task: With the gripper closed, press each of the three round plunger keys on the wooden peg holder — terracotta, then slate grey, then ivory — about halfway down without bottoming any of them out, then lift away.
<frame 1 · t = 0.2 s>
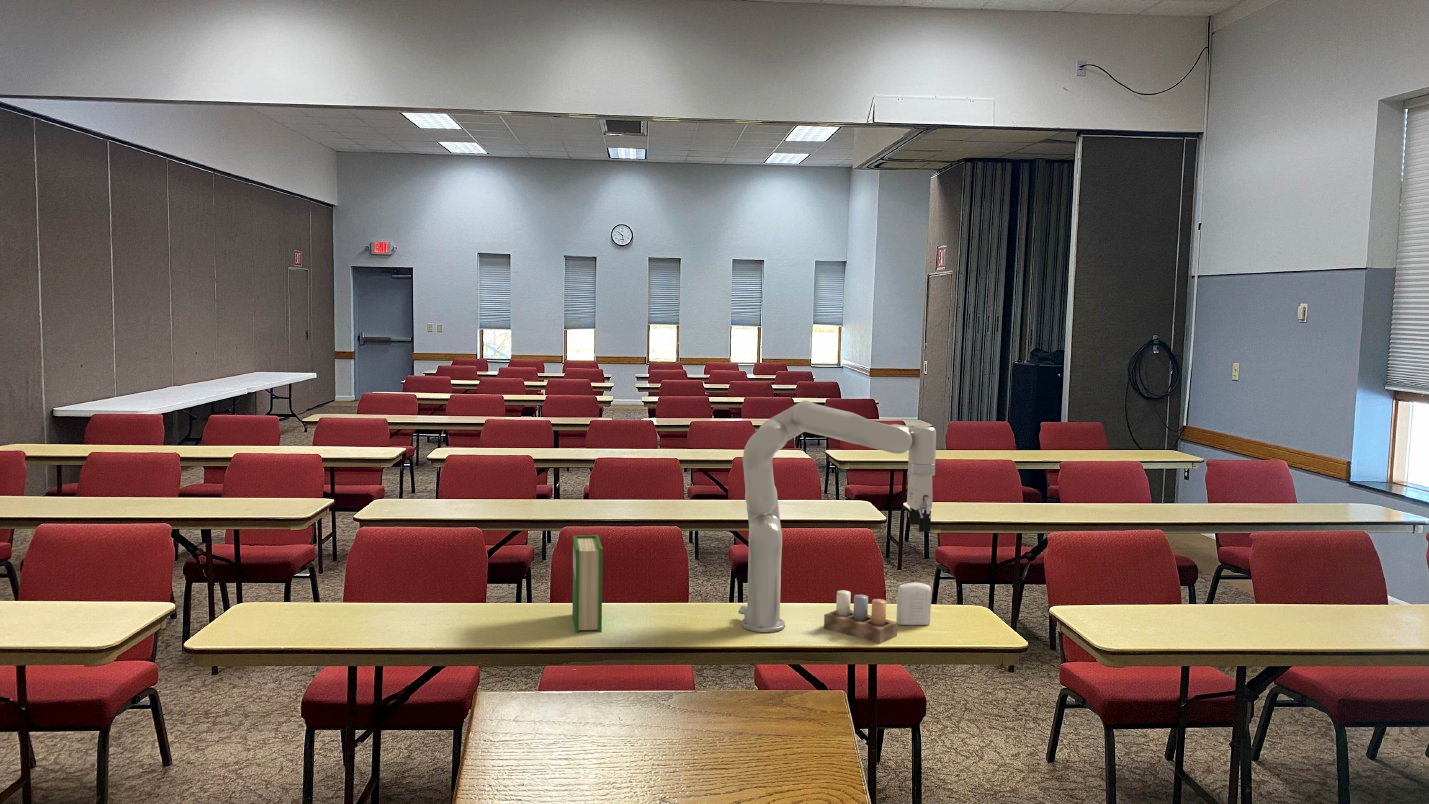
hand: (919, 528, 262), 30 cm above the table, tool pointing down, fingers open, 9 cm apart
hardback book: (586, 623, 266), on the table
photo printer: (913, 624, 271), on the table
ivory key: (843, 604, 266), point 7 cm above the table, slide at 0.0 cm
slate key: (860, 608, 262), point 7 cm above the table, slide at 0.0 cm
wooden peg holder: (860, 631, 263), on the table
terracotta key: (878, 613, 258), point 7 cm above the table, slide at 0.0 cm
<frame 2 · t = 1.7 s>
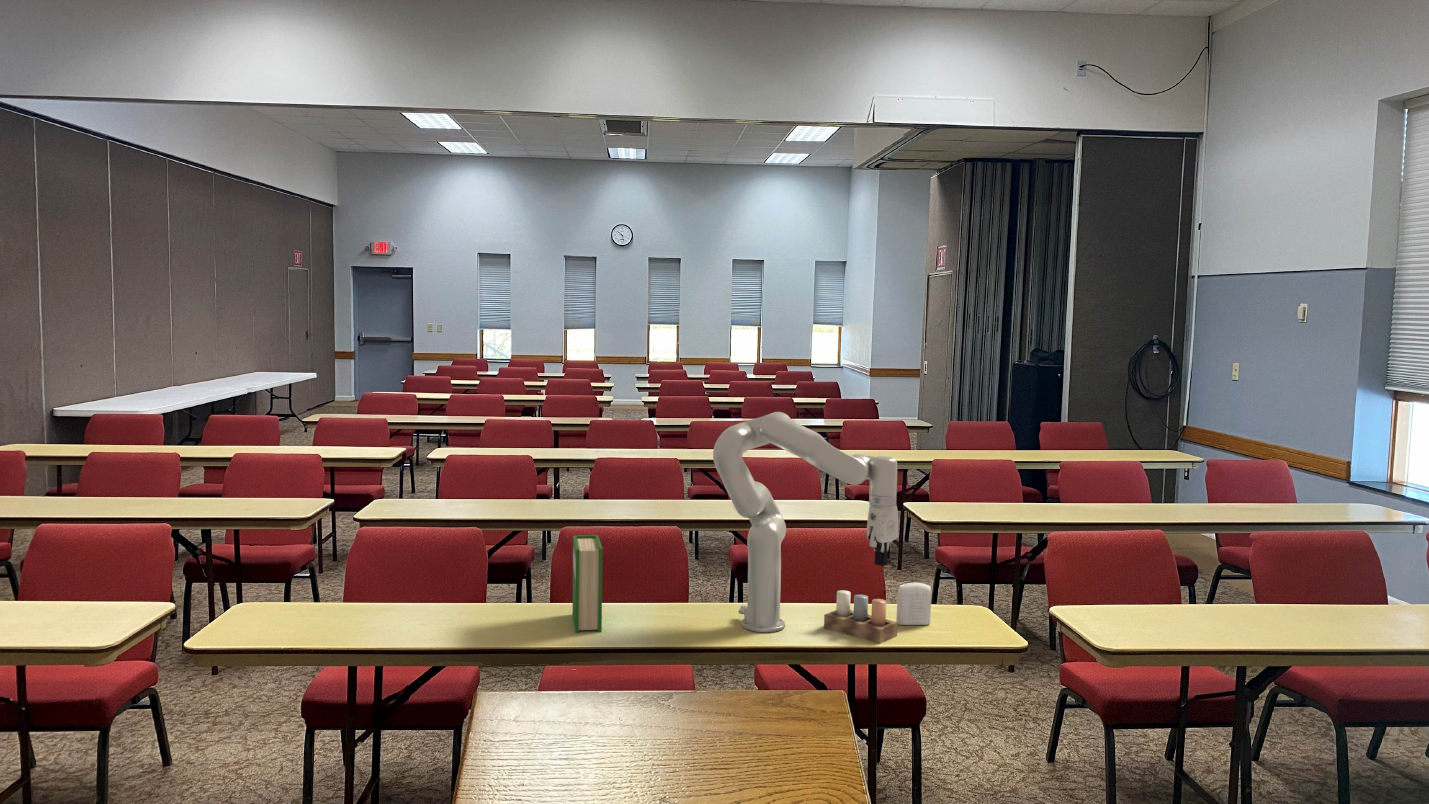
hand: (880, 564, 257), 21 cm above the table, tool pointing down, fingers closed
nothing on the table moved.
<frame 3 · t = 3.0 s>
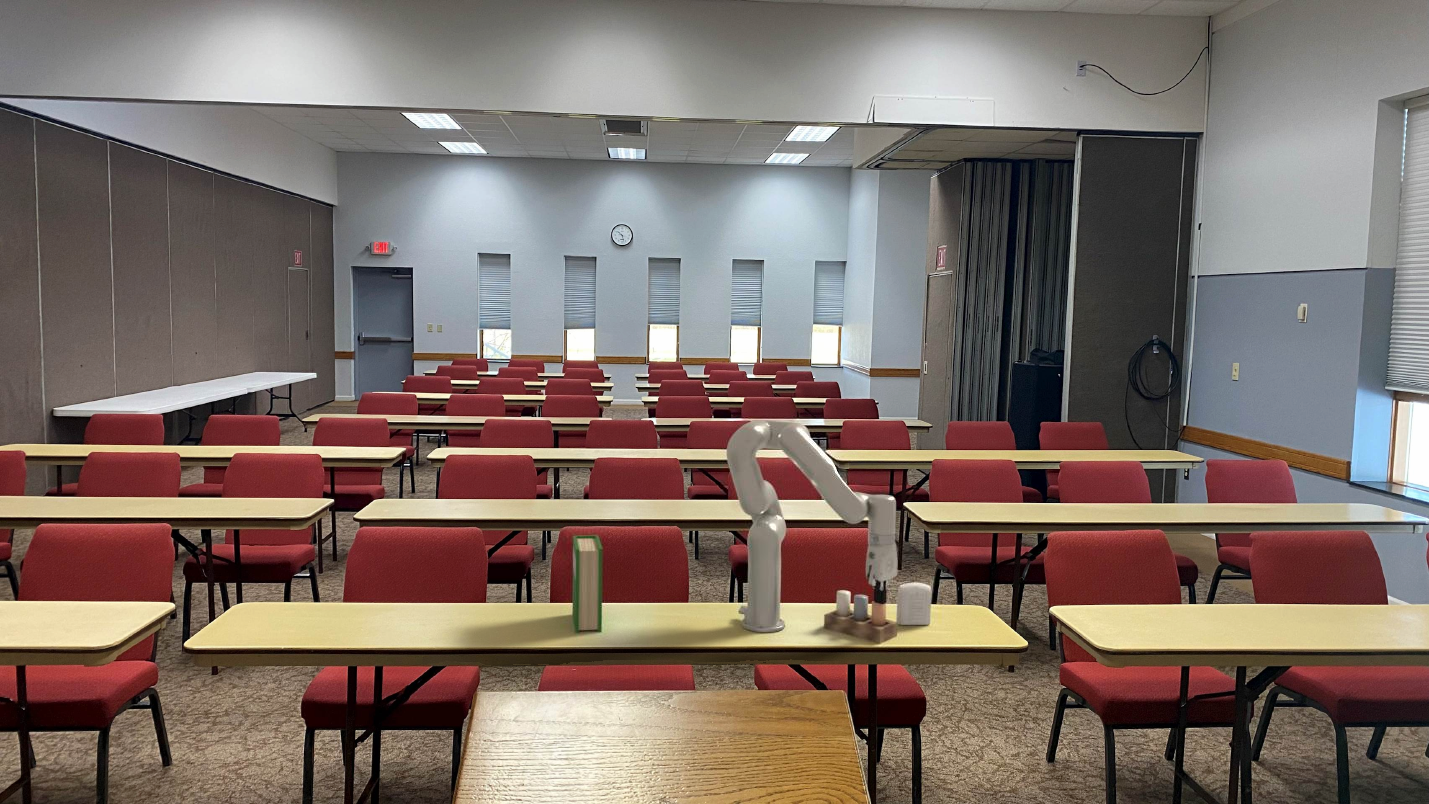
hand: (880, 602, 258), 10 cm above the table, tool pointing down, fingers closed
terracotta key: (878, 614, 258), point 6 cm above the table, slide at 0.5 cm, touching gripper
everything else where it was.
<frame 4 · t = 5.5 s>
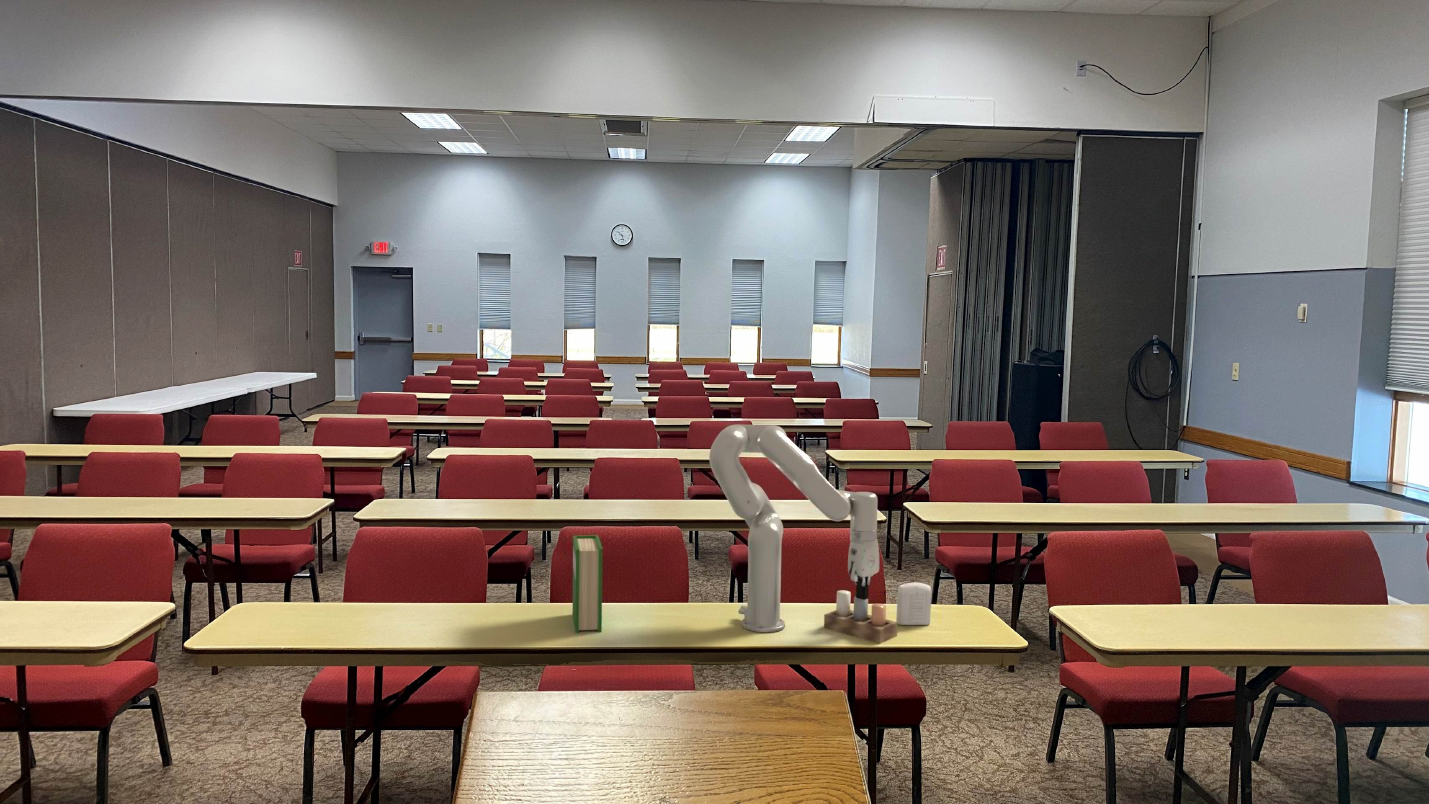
hand: (862, 598, 262), 10 cm above the table, tool pointing down, fingers closed
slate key: (860, 610, 262), point 6 cm above the table, slide at 0.5 cm, touching gripper
terracotta key: (878, 617, 258), point 6 cm above the table, slide at 1.4 cm
everything else where it was.
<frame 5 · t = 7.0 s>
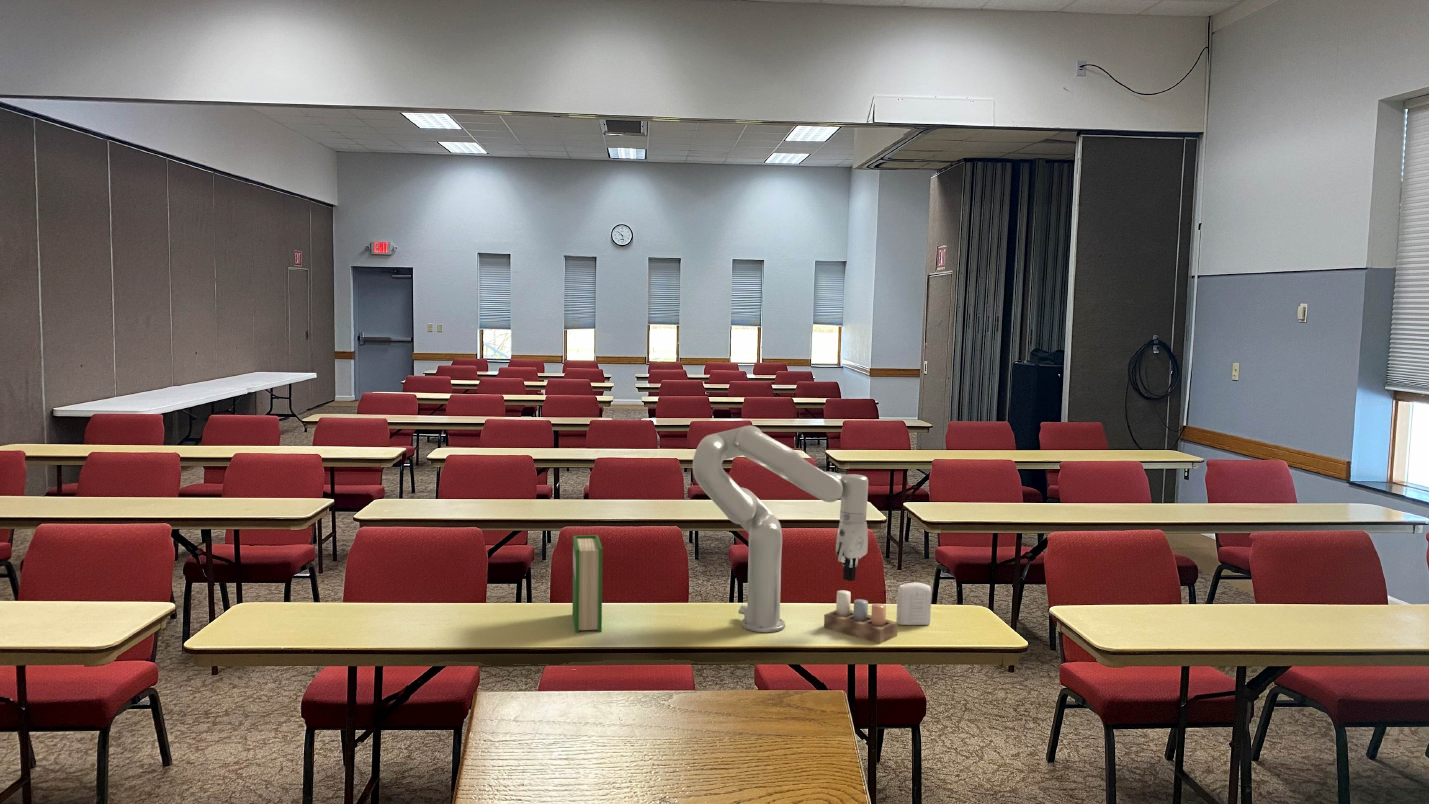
hand: (849, 579, 264), 15 cm above the table, tool pointing down, fingers closed
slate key: (860, 613, 262), point 6 cm above the table, slide at 1.4 cm
everything else where it was.
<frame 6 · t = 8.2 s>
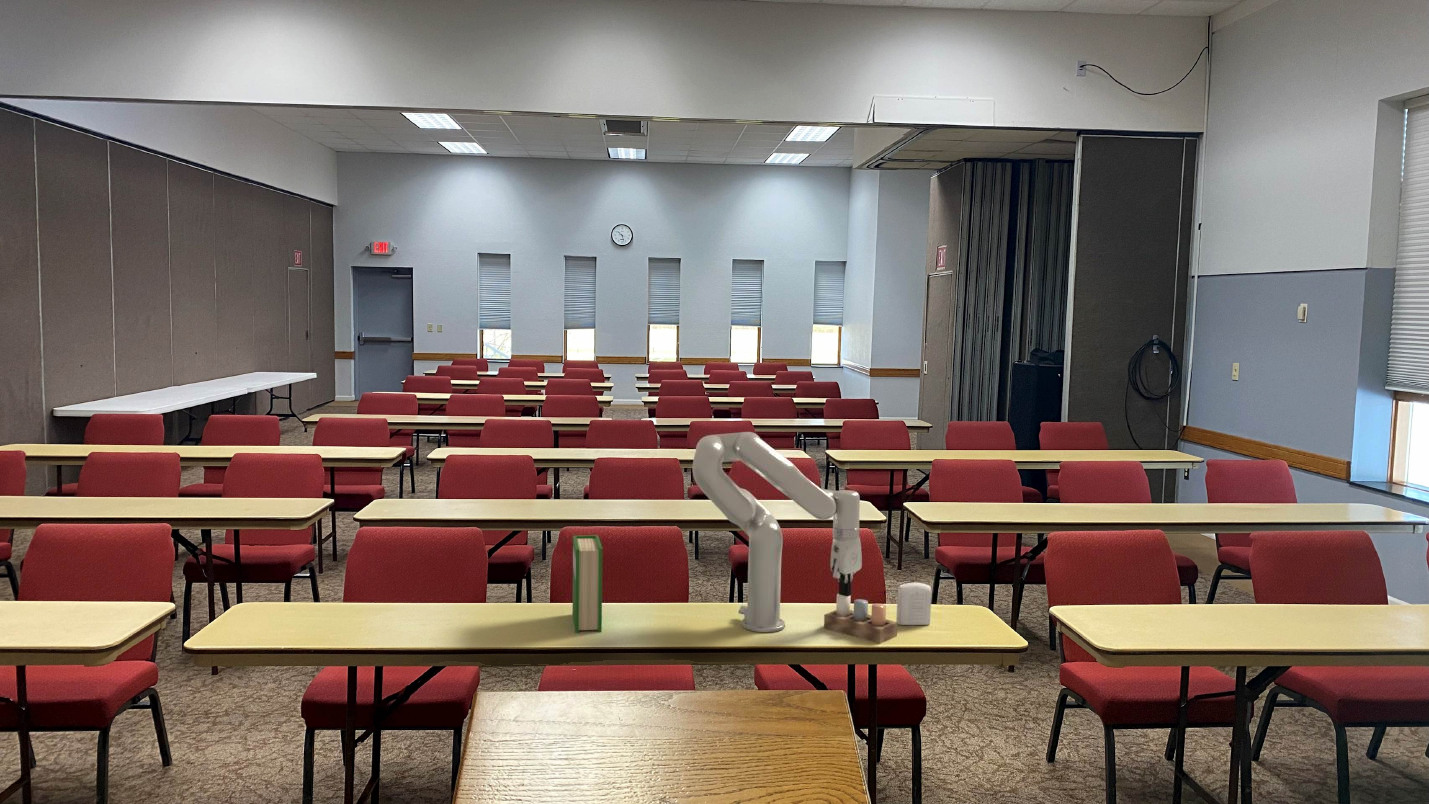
hand: (844, 594, 266), 10 cm above the table, tool pointing down, fingers closed
ivory key: (843, 606, 266), point 6 cm above the table, slide at 0.8 cm, touching gripper
everything else where it was.
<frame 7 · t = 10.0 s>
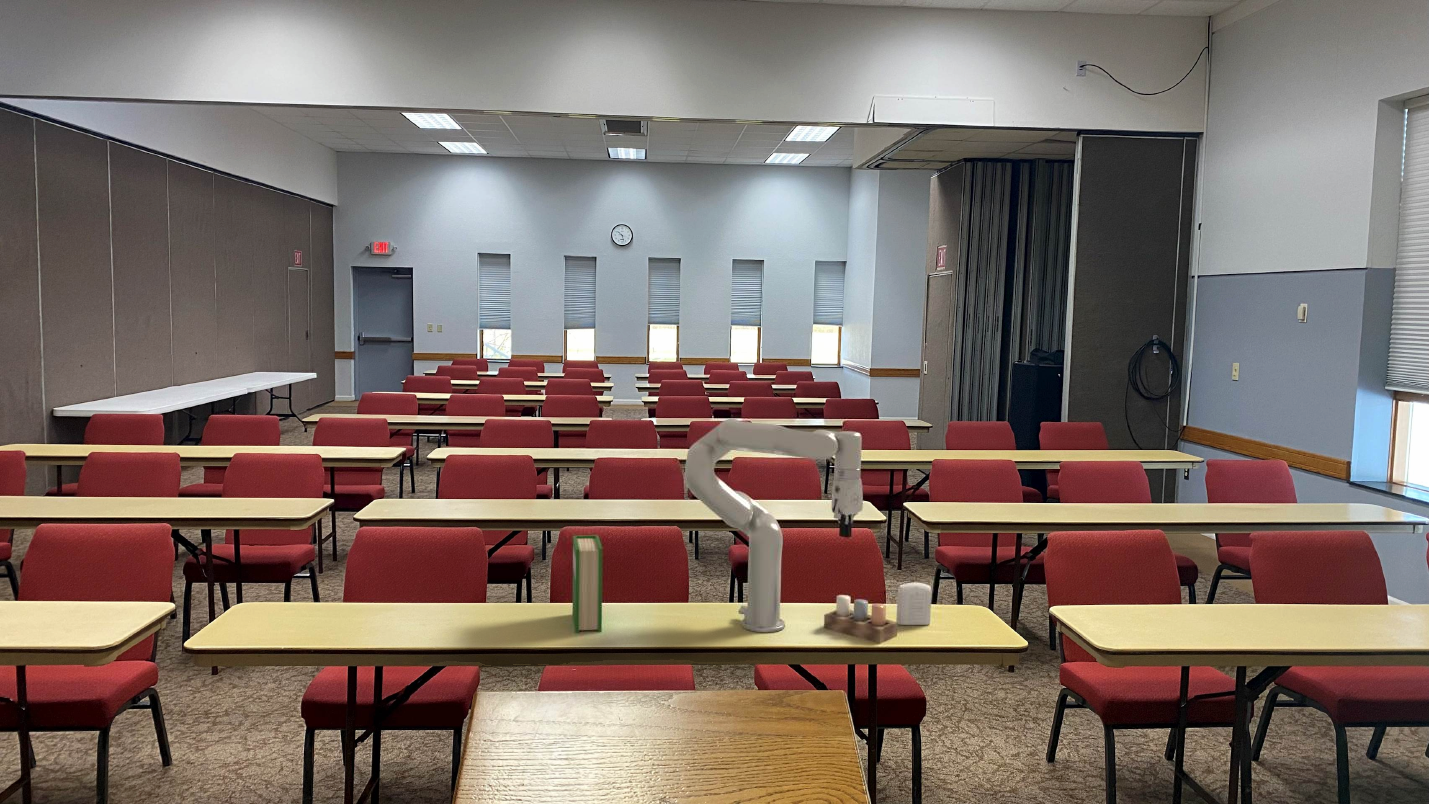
hand: (845, 536, 265), 27 cm above the table, tool pointing down, fingers closed
ivory key: (843, 608, 266), point 5 cm above the table, slide at 1.4 cm
everything else where it was.
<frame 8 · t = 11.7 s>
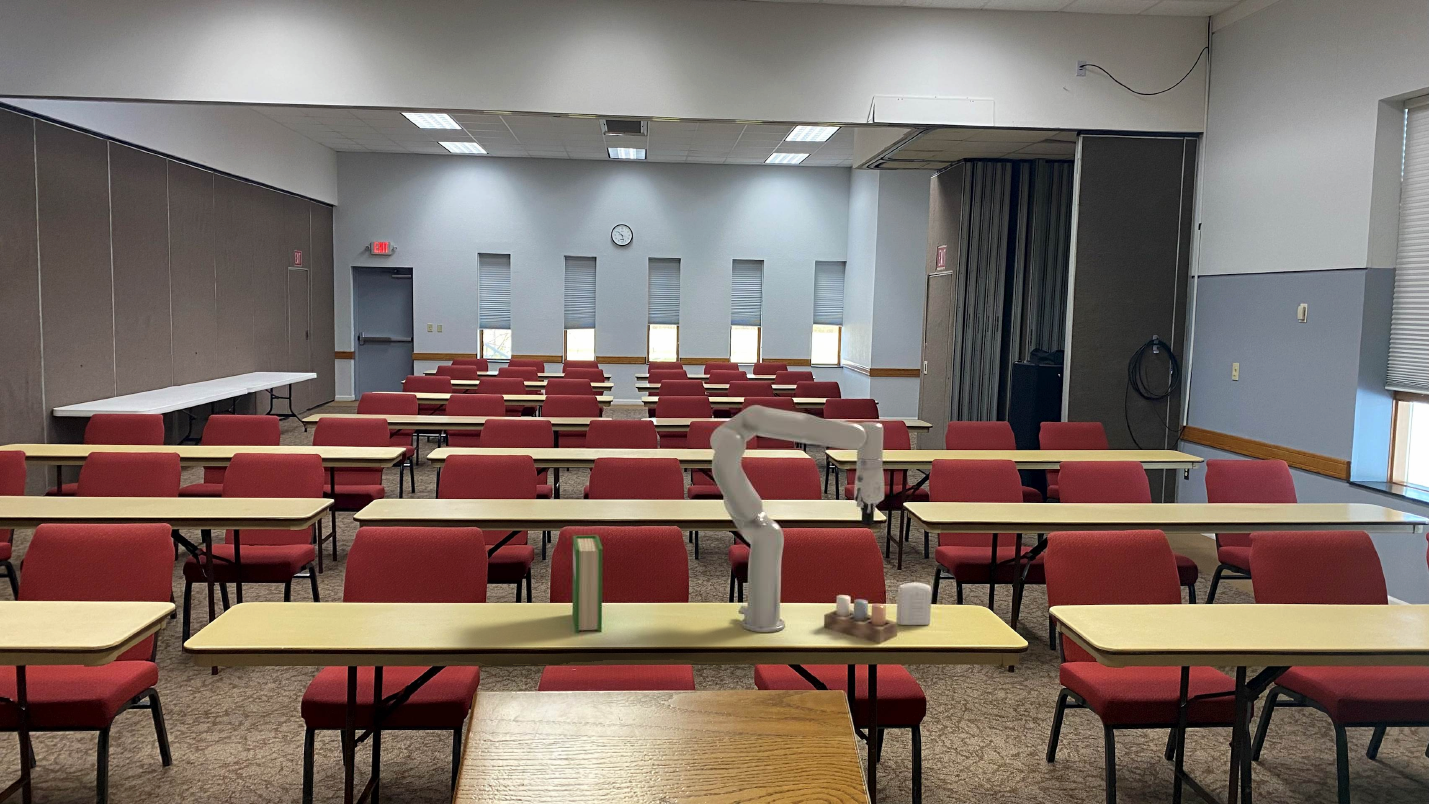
hand: (867, 524, 271), 29 cm above the table, tool pointing down, fingers closed
nothing on the table moved.
at the end: terracotta key slide at 1.4 cm; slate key slide at 1.4 cm; ivory key slide at 1.4 cm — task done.
